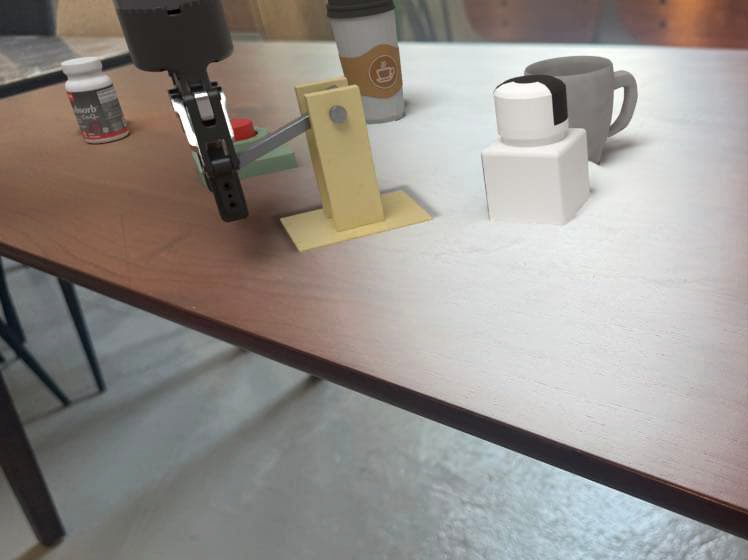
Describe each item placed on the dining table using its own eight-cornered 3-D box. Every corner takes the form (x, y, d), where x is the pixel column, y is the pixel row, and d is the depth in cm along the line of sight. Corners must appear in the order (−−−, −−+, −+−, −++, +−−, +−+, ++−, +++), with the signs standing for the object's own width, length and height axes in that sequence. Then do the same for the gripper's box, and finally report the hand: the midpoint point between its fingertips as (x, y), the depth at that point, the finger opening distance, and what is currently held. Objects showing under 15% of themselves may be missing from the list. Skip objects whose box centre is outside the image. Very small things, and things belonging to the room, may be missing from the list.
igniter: (206, 192, 92) (194, 155, 90) (196, 170, 99) (186, 135, 97) (298, 172, 95) (289, 135, 93) (283, 152, 102) (274, 118, 100)
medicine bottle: (520, 202, 81) (506, 69, 75) (591, 205, 79) (583, 68, 72) (489, 231, 76) (471, 91, 69) (565, 236, 73) (554, 91, 67)
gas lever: (221, 198, 70) (203, 173, 69) (213, 182, 74) (196, 157, 73) (359, 118, 72) (344, 92, 70) (344, 106, 76) (330, 81, 74)
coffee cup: (366, 131, 107) (340, -1, 98) (338, 119, 113) (311, -6, 104) (424, 115, 111) (404, -13, 102) (394, 105, 116) (372, -17, 108)
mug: (555, 183, 85) (547, 81, 79) (518, 161, 91) (508, 66, 86) (659, 157, 88) (658, 58, 83) (616, 138, 95) (613, 45, 90)
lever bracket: (302, 263, 73) (262, 110, 66) (282, 230, 80) (244, 89, 73) (434, 230, 77) (410, 82, 70) (404, 201, 84) (379, 64, 77)
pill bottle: (75, 144, 114) (45, 66, 109) (106, 131, 118) (78, 55, 113) (109, 145, 112) (80, 65, 107) (139, 131, 117) (112, 54, 111)
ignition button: (221, 147, 93) (217, 131, 92) (217, 138, 96) (212, 123, 95) (259, 139, 94) (254, 123, 93) (253, 131, 97) (248, 116, 96)
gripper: (109, -7, 68) (175, 190, 77) (116, 14, 57) (192, 241, 66) (206, -21, 71) (259, 172, 80) (230, -3, 60) (288, 219, 69)
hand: (228, 204), depth 73 cm, fingers open, 8 cm apart
